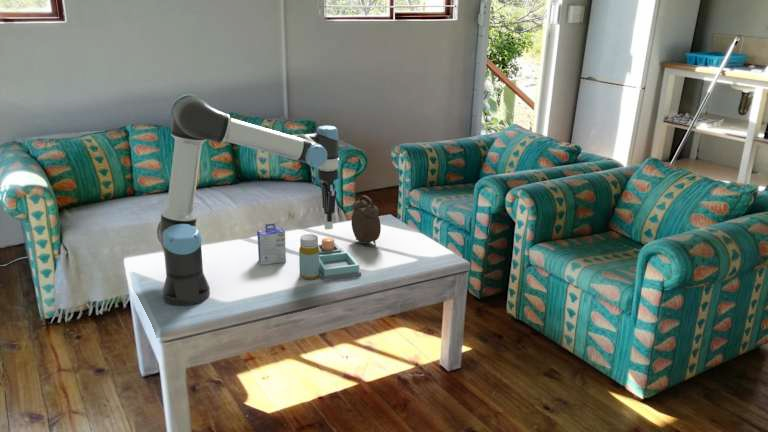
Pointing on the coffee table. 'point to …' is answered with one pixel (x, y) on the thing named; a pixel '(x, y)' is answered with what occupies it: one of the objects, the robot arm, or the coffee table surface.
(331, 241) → the button
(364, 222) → the alarm clock
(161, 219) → the robot arm
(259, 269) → the coffee table surface
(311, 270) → the bottle
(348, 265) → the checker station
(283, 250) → the ink cartridge box
